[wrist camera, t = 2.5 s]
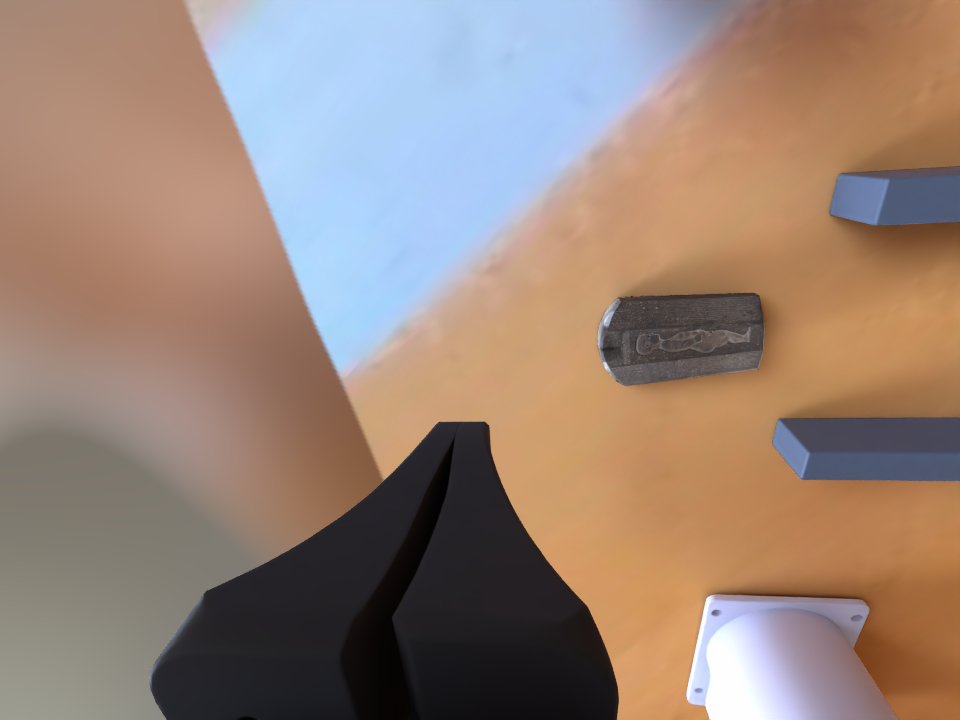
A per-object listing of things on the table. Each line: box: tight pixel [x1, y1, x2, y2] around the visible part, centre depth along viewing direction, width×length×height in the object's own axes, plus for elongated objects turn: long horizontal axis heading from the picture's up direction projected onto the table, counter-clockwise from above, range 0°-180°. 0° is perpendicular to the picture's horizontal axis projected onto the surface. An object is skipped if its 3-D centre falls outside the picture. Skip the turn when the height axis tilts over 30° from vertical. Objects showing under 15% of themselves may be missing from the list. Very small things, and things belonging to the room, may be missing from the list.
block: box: [597, 293, 765, 386], centre depth 18 cm, size 4×6×2 cm, turn 101°
